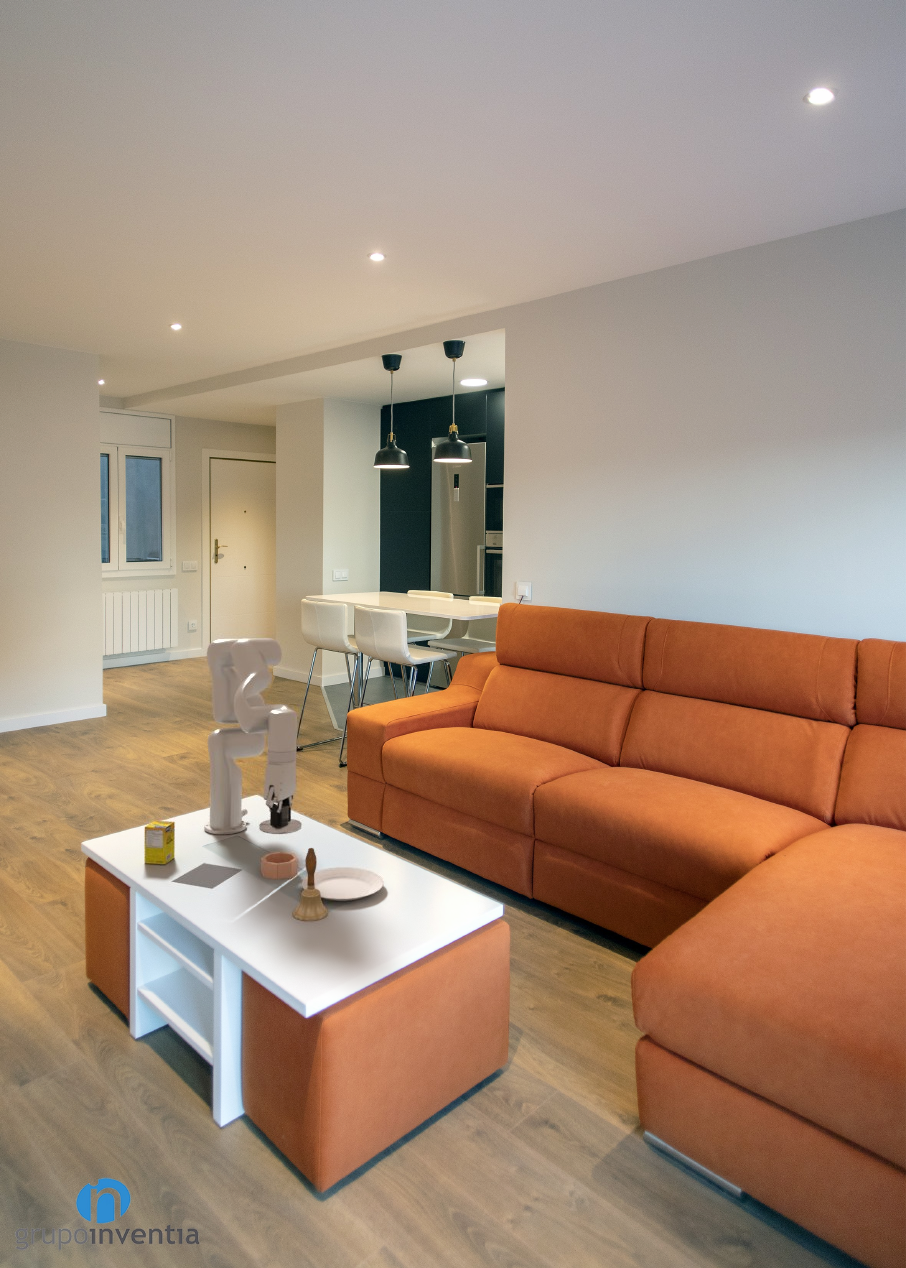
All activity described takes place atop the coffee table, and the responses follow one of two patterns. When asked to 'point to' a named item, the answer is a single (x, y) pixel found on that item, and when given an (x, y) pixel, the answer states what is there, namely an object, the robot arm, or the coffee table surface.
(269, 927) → the coffee table surface
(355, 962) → the coffee table surface
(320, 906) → the hand bell
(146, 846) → the supplement box
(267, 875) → the hollow octagonal tube
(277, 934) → the coffee table surface
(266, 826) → the lid
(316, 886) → the plate
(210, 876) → the mat
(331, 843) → the coffee table surface
